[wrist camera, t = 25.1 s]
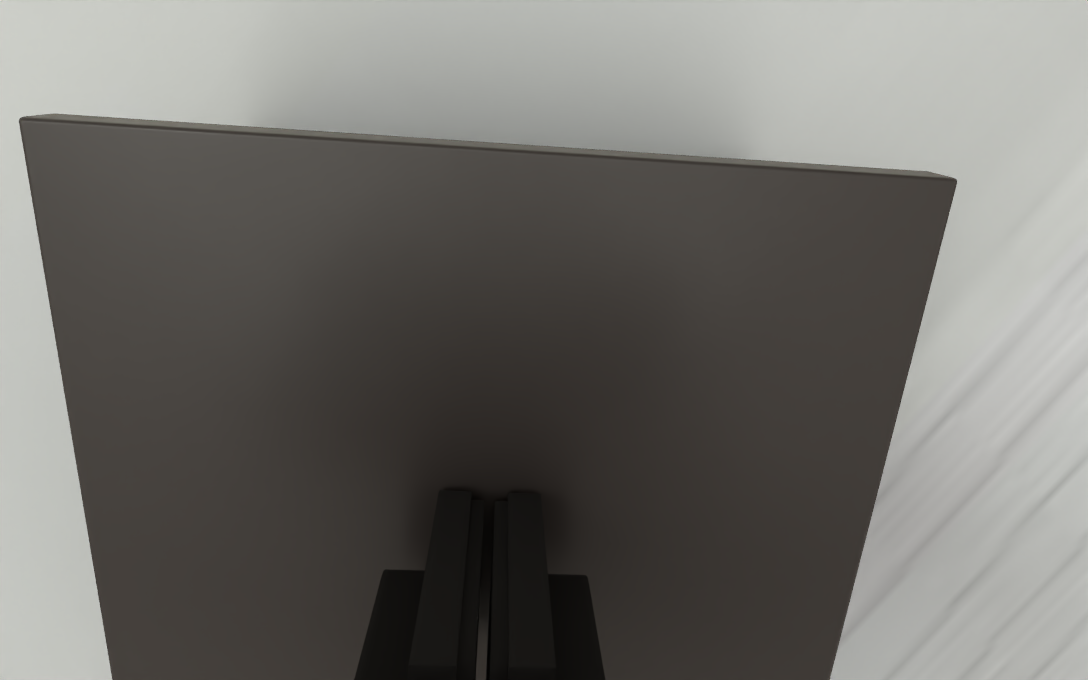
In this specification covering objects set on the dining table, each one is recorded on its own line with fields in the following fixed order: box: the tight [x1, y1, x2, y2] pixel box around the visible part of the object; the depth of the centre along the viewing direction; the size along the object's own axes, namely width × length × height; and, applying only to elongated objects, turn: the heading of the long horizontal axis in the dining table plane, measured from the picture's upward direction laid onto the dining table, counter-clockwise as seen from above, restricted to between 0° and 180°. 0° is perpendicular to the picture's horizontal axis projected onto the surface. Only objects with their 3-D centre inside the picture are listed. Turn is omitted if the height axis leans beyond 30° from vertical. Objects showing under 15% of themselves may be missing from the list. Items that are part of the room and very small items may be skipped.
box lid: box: [19, 114, 957, 680], centre depth 13 cm, size 17×13×1 cm
